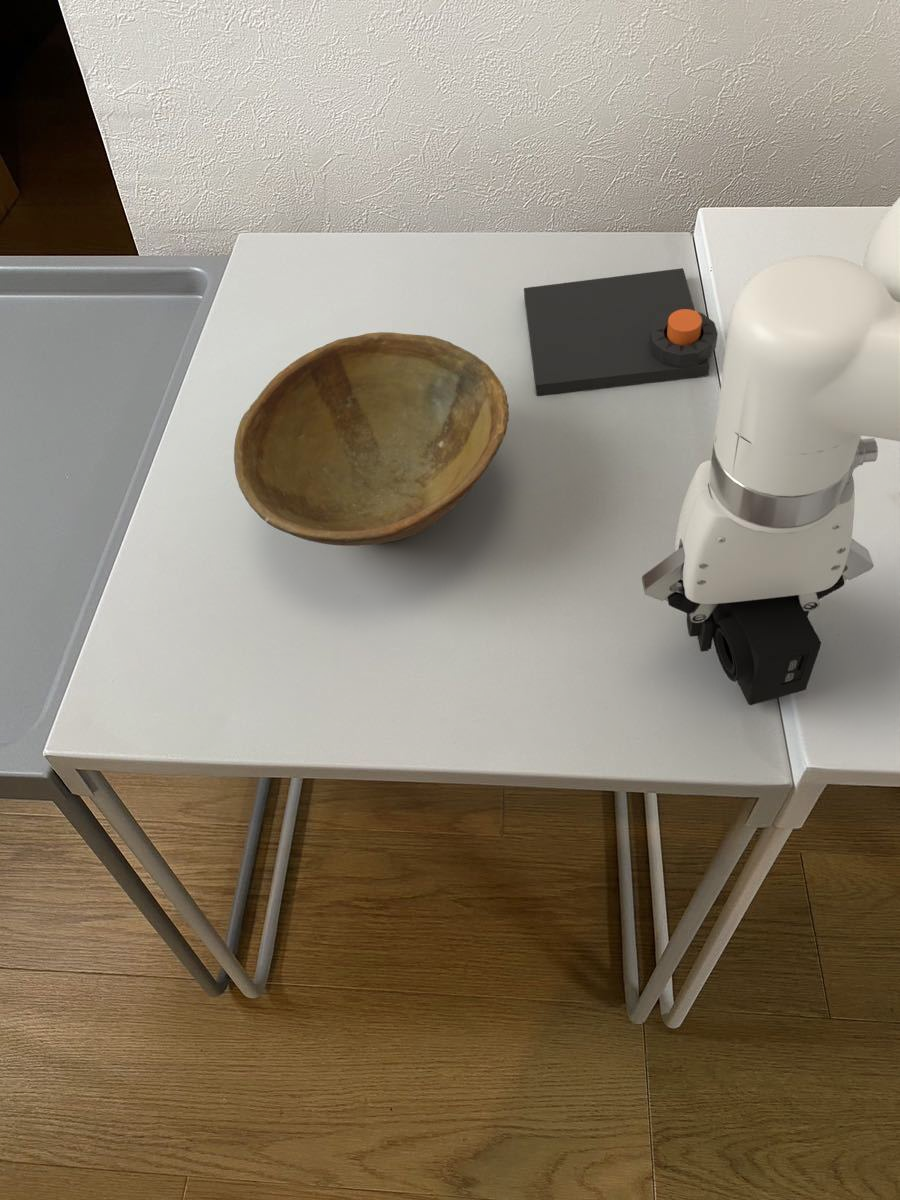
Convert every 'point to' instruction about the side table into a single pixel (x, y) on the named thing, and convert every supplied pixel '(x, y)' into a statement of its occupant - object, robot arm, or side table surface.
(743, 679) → the digital camera
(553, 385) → the scale
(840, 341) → the robot arm
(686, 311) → the button
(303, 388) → the bowl
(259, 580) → the side table surface
